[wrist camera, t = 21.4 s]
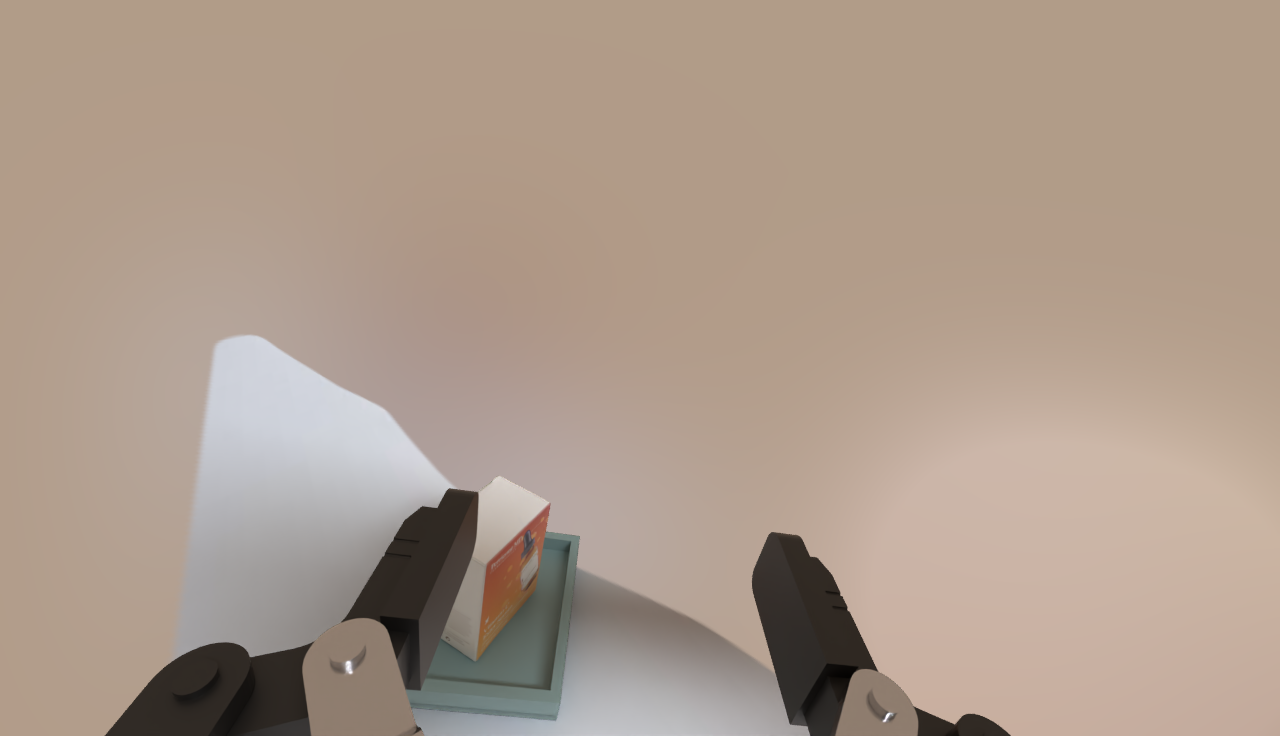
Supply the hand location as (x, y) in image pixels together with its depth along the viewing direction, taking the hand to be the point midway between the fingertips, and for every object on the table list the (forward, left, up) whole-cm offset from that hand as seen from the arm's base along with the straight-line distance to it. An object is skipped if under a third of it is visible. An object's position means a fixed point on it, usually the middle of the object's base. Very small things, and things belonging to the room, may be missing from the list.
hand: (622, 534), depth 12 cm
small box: (+7, -18, -28) cm, 34 cm away
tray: (+7, -18, -28) cm, 34 cm away
